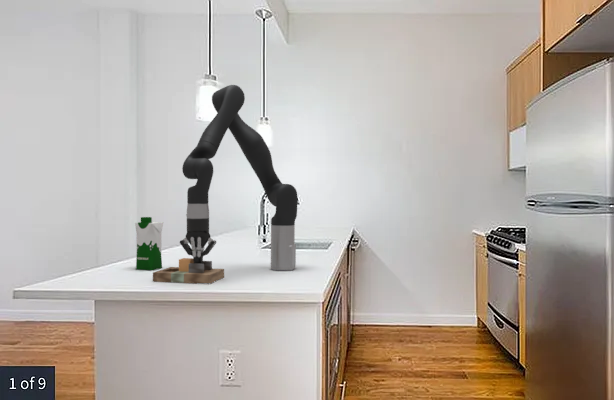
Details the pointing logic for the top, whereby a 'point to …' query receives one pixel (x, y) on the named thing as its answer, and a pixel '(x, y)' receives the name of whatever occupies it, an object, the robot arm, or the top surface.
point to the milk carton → (148, 244)
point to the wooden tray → (190, 274)
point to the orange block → (185, 264)
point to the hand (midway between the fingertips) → (198, 267)
